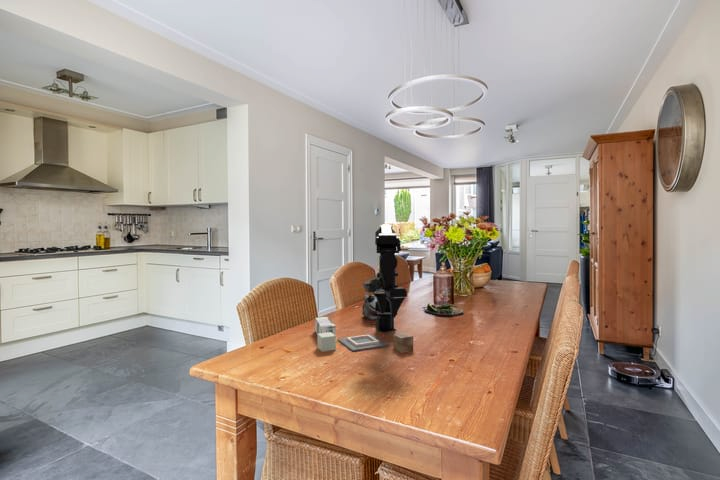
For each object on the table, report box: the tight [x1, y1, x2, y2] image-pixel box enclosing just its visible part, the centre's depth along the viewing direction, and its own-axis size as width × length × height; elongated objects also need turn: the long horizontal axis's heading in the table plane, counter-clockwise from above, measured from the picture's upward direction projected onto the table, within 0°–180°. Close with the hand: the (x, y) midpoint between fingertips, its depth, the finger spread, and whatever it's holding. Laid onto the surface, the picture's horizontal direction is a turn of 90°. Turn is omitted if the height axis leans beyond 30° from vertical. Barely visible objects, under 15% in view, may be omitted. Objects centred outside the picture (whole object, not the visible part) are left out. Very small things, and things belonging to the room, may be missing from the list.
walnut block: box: [392, 332, 414, 353], centre depth 131 cm, size 5×5×5 cm
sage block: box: [316, 332, 337, 352], centre depth 132 cm, size 5×5×5 cm
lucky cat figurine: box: [361, 294, 378, 321], centre depth 174 cm, size 15×12×14 cm
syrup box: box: [314, 316, 337, 336], centre depth 147 cm, size 6×6×14 cm
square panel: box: [337, 333, 390, 353], centre depth 138 cm, size 14×14×1 cm
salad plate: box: [422, 302, 464, 318], centre depth 187 cm, size 19×18×5 cm
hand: (387, 315), depth 129 cm, fingers open, 9 cm apart
